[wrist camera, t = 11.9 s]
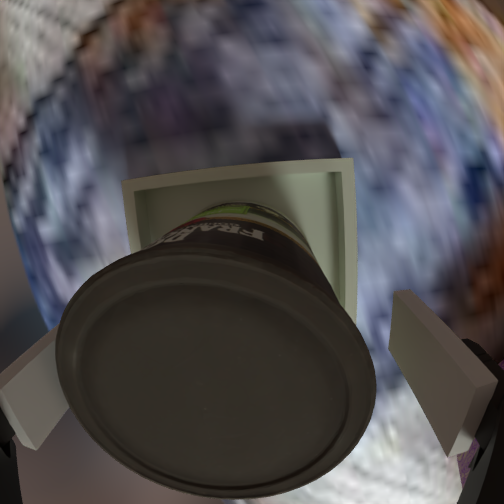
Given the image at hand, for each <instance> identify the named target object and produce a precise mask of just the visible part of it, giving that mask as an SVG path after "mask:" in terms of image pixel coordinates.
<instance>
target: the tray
mask: <svg viewBox="0 0 504 504" xmlns="http://www.w3.org/2000/svg"><path fill="white" fill-rule="evenodd" d="M121 182H122V192H123V200H124V208H125V216H126V223H127V230H128V237H129V243H130V250H131V254H133V253H135V252H138V251H139V250H141V249H142V248H144V247H146V246H147V245H148V244H150V243H152V242H154V241H155V240H157V239H159V238H160V237H162V236H163V235H165V234H167V233H168V232H170V231H171V230H173V229H175V228H176V227H178V226H180V225H181V224H183V223H185V222H186V221H188V220H189V219H191V218H192V217H194V216H195V215H196V214H197V213H199V212H200V211H202V210H204V209H205V208H207V207H209V206H211V205H214V204H218V203H222V202H226V201H232V200H248V201H255V202H259V203H263V204H266V205H269V206H271V207H273V208H275V209H277V210H279V211H280V212H282V213H283V214H285V215H286V216H287V217H289V218H290V219H291V220H292V221H293V222H294V223H295V224H296V225H297V226H298V227H299V228H300V230H301V231H302V232H303V234H304V235H305V237H306V239H307V241H308V243H309V245H310V247H311V250H312V252H313V254H314V256H315V258H316V260H317V262H318V263H319V265H320V267H321V269H322V271H323V273H324V275H325V276H326V278H327V280H328V282H329V283H330V284H331V286H332V289H333V291H334V293H335V295H336V297H337V299H338V301H339V303H340V305H341V306H342V307H343V308H344V309H345V311H346V312H347V313H348V315H349V316H350V317H351V319H352V320H353V322H354V324H355V325H356V315H357V216H356V194H355V177H354V163H353V158H335V159H312V160H294V161H279V162H266V163H254V164H243V165H233V166H223V167H214V168H205V169H197V170H189V171H182V172H174V173H167V174H160V175H154V176H147V177H141V178H135V179H129V180H123V181H121Z"/></svg>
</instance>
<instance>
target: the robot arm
mask: <svg viewBox="0 0 504 504" xmlns="http://www.w3.org/2000/svg"><path fill="white" fill-rule="evenodd" d="M59 324H60V323H59ZM59 324H58V325H57V326H56V327H54V328H53V329H52V330H51V331H50V332H48V333H47V334H46V335H45V336H44V337H43V338H41V339H40V340H39V341H38V342H36V343H35V344H34V345H33V346H32V347H31V348H29V349H28V350H27V351H26V352H25V353H24V354H22V355H21V356H20V357H19V358H18V359H17V360H15V361H14V362H13V363H12V364H11V365H10V366H9V367H8V368H7V369H5V370H4V371H3V372H2V373H1V374H0V504H23V503H22V497H21V491H20V484H19V476H18V467H17V457H16V446H15V443H14V441H13V440H12V437H13V436H14V435H15V434H16V435H17V437H18V438H19V440H20V441H21V443H22V444H23V445H24V446H26V447H29V448H31V449H34V450H38V448H39V447H40V446H41V444H42V443H43V441H44V440H45V439H46V437H47V436H48V435H49V433H50V432H51V431H52V429H53V428H54V427H55V425H56V424H57V422H58V421H59V420H60V418H61V417H62V416H63V415H64V413H65V412H66V411H67V409H68V408H69V405H68V403H67V401H66V398H65V396H64V394H63V391H62V388H61V386H60V382H59V378H58V373H57V367H56V360H55V342H56V335H57V331H58V327H59ZM388 349H389V351H390V352H391V354H392V356H393V357H394V359H395V361H396V363H397V364H398V366H399V368H400V370H401V371H402V373H403V375H404V377H405V378H406V380H407V382H408V384H409V386H410V387H411V389H412V391H413V393H414V395H415V396H416V398H417V400H418V402H419V404H420V406H421V408H422V409H423V411H424V413H425V415H426V417H427V419H428V421H429V423H430V424H431V426H432V428H433V430H434V432H435V434H436V436H437V438H438V440H439V442H440V444H441V446H442V448H443V450H444V452H445V454H446V456H447V458H448V457H451V456H454V455H457V454H460V453H463V452H466V451H468V450H469V448H470V446H471V444H472V442H473V440H474V438H476V440H477V442H478V443H479V445H480V446H479V448H478V450H477V452H476V453H475V455H474V457H473V459H472V461H471V462H470V464H469V466H468V468H471V469H470V472H469V474H468V477H467V480H466V482H465V485H464V488H463V490H462V493H461V495H460V497H459V500H458V502H457V504H504V370H503V369H502V368H501V367H500V366H499V365H498V364H497V363H496V362H495V361H494V360H492V357H491V356H490V355H489V354H486V351H485V350H484V349H483V348H482V347H481V346H480V345H479V344H477V343H475V342H473V341H471V340H469V339H462V340H461V339H460V338H459V337H458V336H457V335H456V334H455V333H454V332H453V331H452V330H451V329H450V328H449V327H448V326H447V325H446V324H445V323H444V322H443V321H442V320H441V319H440V318H439V317H438V316H437V315H436V314H435V313H434V312H433V311H432V310H431V309H430V308H429V307H428V306H427V305H426V304H425V303H424V302H423V301H422V300H421V299H420V298H419V297H418V296H417V295H416V294H414V293H413V292H412V291H411V290H410V289H409V290H400V291H394V295H393V308H392V319H391V330H390V339H389V347H388Z"/></svg>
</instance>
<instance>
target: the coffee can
mask: <svg viewBox="0 0 504 504" xmlns="http://www.w3.org/2000/svg"><path fill="white" fill-rule="evenodd" d="M55 360H56V367H57V373H58V378H59V382H60V386H61V388H62V391H63V394H64V396H65V398H66V401H67V403H68V405H69V407H70V409H71V410H72V412H73V414H74V415H75V417H76V418H77V420H78V421H79V423H80V424H81V426H82V427H83V428H84V430H85V431H86V432H87V433H88V434H89V436H90V437H91V438H92V439H93V440H94V441H95V442H96V443H97V444H98V445H99V446H100V447H101V448H102V449H103V450H104V451H105V452H106V453H108V454H109V455H110V456H111V457H112V458H114V459H115V460H116V461H118V462H119V463H120V464H122V465H123V466H125V467H126V468H128V469H129V470H131V471H133V472H135V473H136V474H138V475H140V476H141V477H143V478H145V479H148V480H150V481H152V482H154V483H156V484H159V485H161V486H164V487H167V488H169V489H172V490H176V491H179V492H182V493H186V494H191V495H195V496H201V497H207V498H214V499H231V500H235V499H255V498H262V497H269V496H274V495H278V494H282V493H286V492H289V491H291V490H294V489H297V488H300V487H302V486H305V485H307V484H309V483H311V482H313V481H315V480H317V479H318V478H320V477H322V476H323V475H325V474H326V473H328V472H329V471H331V470H332V469H333V468H335V467H336V466H337V465H338V464H339V463H341V462H342V461H343V460H344V459H345V458H346V457H347V456H348V455H349V454H350V453H351V451H352V450H353V449H354V448H355V446H356V445H357V444H358V442H359V440H360V439H361V437H362V436H363V434H364V432H365V430H366V428H367V426H368V424H369V422H370V420H371V416H372V413H373V409H374V406H375V399H376V376H375V369H374V365H373V361H372V359H371V356H370V353H369V350H368V348H367V346H366V344H365V341H364V339H363V337H362V335H361V333H360V331H359V330H358V328H357V327H356V325H355V324H354V322H353V320H352V319H351V317H350V316H349V315H348V313H347V312H346V311H345V309H344V308H343V307H342V306H341V305H340V303H339V301H338V299H337V297H336V295H335V293H334V291H333V289H332V286H331V284H330V283H329V282H328V280H327V278H326V276H325V275H324V273H323V271H322V269H321V267H320V265H319V263H318V262H317V260H316V258H315V256H314V254H313V252H312V250H311V247H310V245H309V243H308V241H307V239H306V237H305V235H304V234H303V232H302V231H301V230H300V228H299V227H298V226H297V225H296V224H295V223H294V222H293V221H292V220H291V219H290V218H289V217H287V216H286V215H285V214H283V213H282V212H280V211H279V210H277V209H275V208H273V207H271V206H269V205H266V204H263V203H259V202H255V201H248V200H232V201H226V202H222V203H218V204H214V205H211V206H209V207H207V208H205V209H204V210H202V211H200V212H199V213H197V214H196V215H195V216H194V217H192V218H191V219H189V220H188V221H186V222H185V223H183V224H181V225H180V226H178V227H176V228H175V229H173V230H171V231H170V232H168V233H167V234H165V235H163V236H162V237H160V238H159V239H157V240H155V241H154V242H152V243H150V244H148V245H147V246H146V247H144V248H142V249H141V250H139V251H138V252H135V253H133V254H130V255H128V256H125V257H123V258H121V259H119V260H117V261H115V262H113V263H111V264H110V265H108V266H106V267H105V268H103V269H102V270H100V271H98V272H97V273H95V274H94V275H92V276H91V277H90V278H89V279H88V280H87V281H86V282H85V283H84V284H83V285H82V286H81V287H80V288H79V289H78V291H77V292H76V293H75V294H74V295H73V297H72V298H71V300H70V301H69V303H68V305H67V306H66V308H65V310H64V312H63V315H62V318H61V321H60V324H59V327H58V331H57V335H56V342H55Z"/></svg>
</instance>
